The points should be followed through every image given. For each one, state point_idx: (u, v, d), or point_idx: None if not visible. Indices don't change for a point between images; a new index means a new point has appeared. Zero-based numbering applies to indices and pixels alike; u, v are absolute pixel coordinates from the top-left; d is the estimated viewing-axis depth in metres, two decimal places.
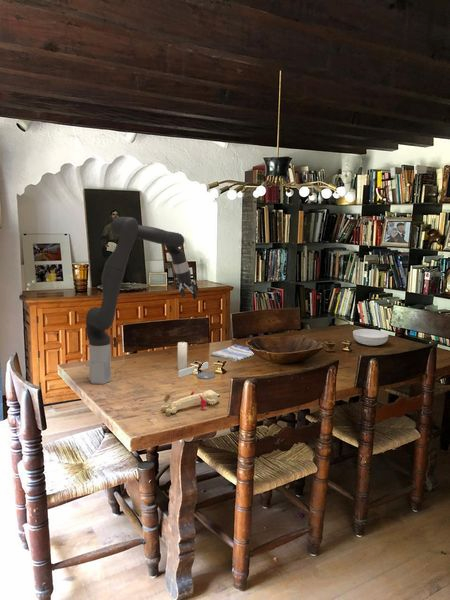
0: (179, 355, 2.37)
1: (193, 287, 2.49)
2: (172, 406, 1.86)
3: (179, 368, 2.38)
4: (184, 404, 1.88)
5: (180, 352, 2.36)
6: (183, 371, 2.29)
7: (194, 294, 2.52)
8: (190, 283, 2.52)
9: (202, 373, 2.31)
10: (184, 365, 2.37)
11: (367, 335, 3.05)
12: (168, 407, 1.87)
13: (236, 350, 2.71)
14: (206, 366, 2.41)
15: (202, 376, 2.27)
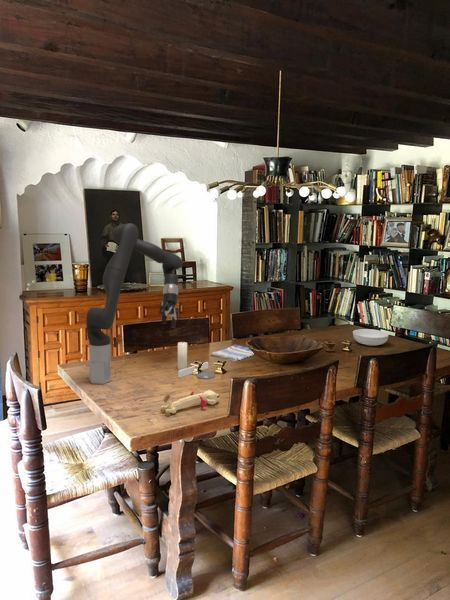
0: (179, 355, 2.37)
1: (160, 308, 2.38)
2: (172, 406, 1.85)
3: (179, 368, 2.38)
4: (184, 404, 1.88)
5: (180, 352, 2.36)
6: (183, 371, 2.29)
7: (162, 317, 2.38)
8: None
9: (202, 373, 2.31)
10: (184, 365, 2.37)
11: (367, 335, 3.05)
12: (168, 407, 1.86)
13: (236, 350, 2.71)
14: (206, 366, 2.41)
15: (202, 376, 2.27)
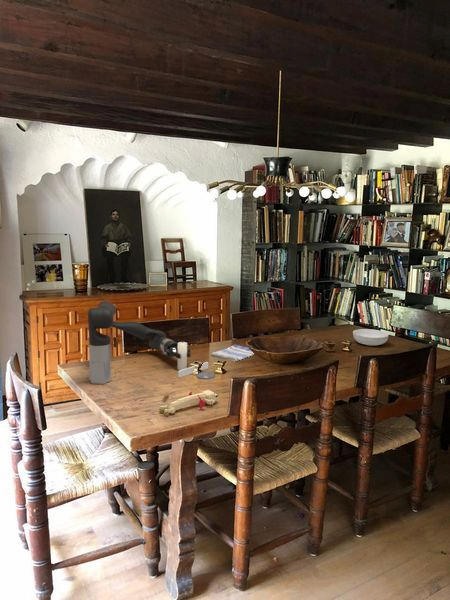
0: None
1: (167, 355, 2.40)
2: (171, 406, 1.85)
3: (179, 368, 2.38)
4: (183, 404, 1.88)
5: (180, 352, 2.36)
6: (183, 371, 2.29)
7: (175, 356, 2.37)
8: None
9: (202, 373, 2.31)
10: (184, 365, 2.37)
11: (367, 335, 3.05)
12: (166, 407, 1.86)
13: (236, 350, 2.71)
14: (206, 366, 2.41)
15: (202, 376, 2.27)
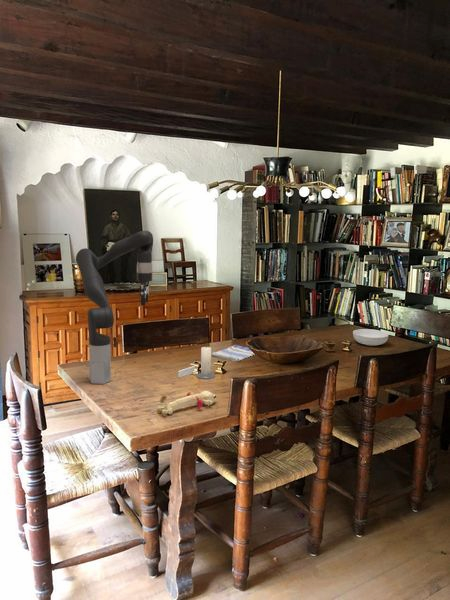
0: (203, 360, 2.27)
1: None
2: (168, 407, 1.85)
3: (203, 374, 2.28)
4: (180, 405, 1.88)
5: (204, 357, 2.26)
6: (183, 371, 2.29)
7: (147, 296, 2.49)
8: None
9: None
10: (208, 371, 2.28)
11: (367, 335, 3.05)
12: (164, 408, 1.86)
13: (236, 350, 2.71)
14: None
15: (202, 376, 2.27)
